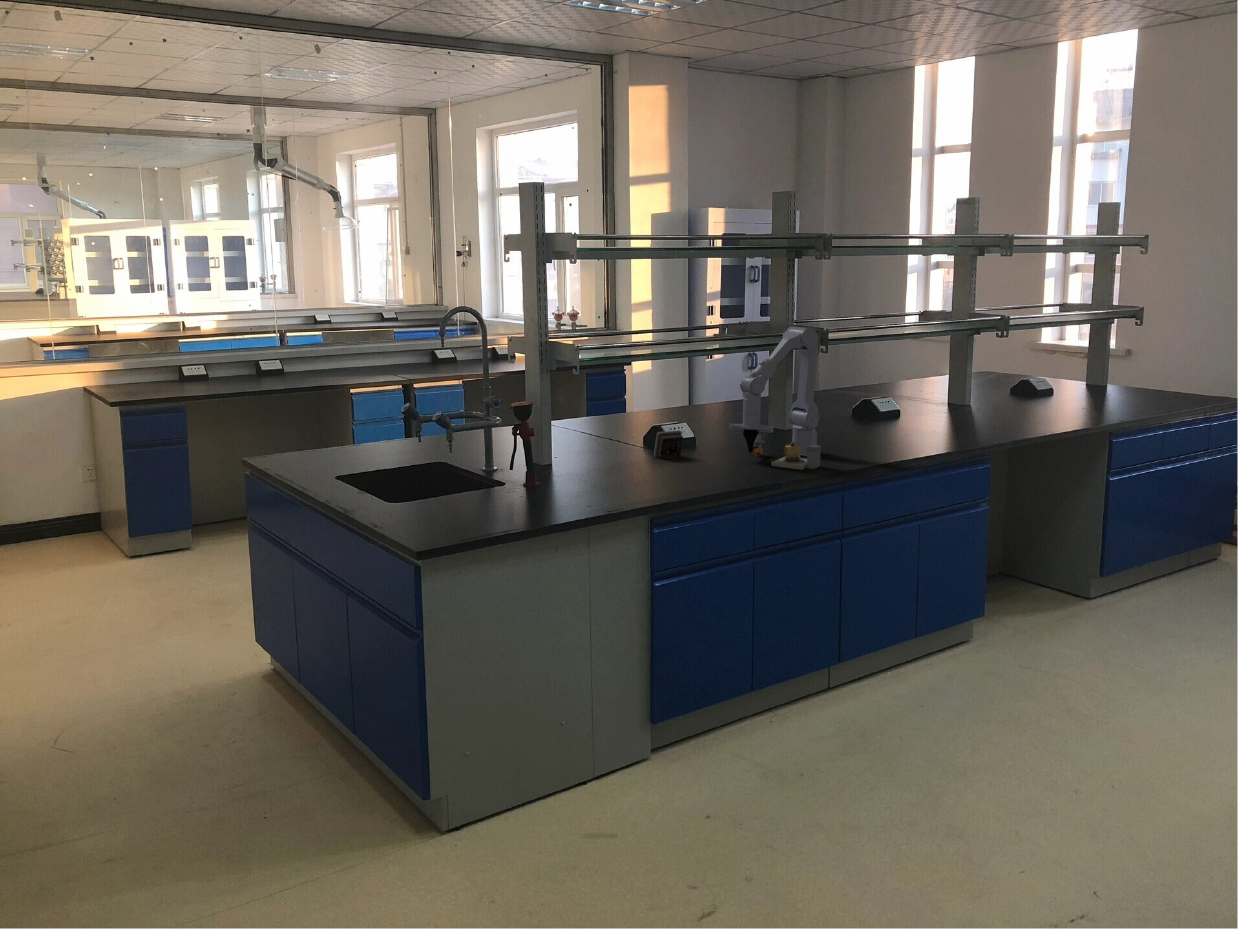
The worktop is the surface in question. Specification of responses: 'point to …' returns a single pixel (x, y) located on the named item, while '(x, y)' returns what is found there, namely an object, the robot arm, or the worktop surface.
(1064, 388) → the worktop surface
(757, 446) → the lever
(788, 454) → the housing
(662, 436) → the electrical switch
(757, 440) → the pivot post
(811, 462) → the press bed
